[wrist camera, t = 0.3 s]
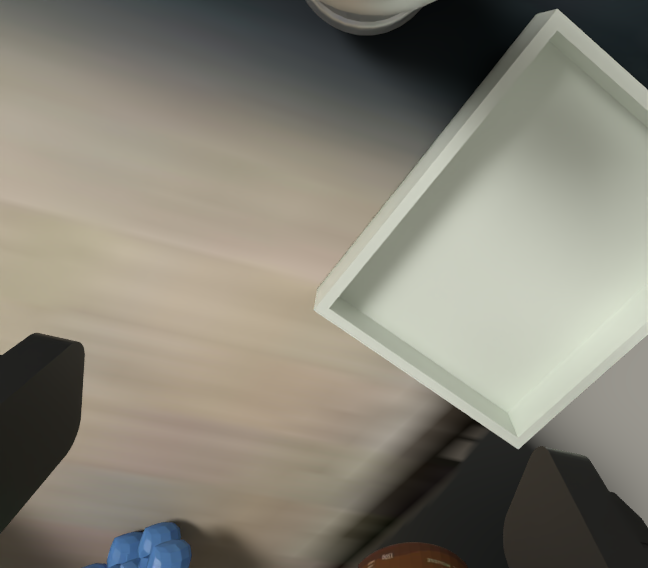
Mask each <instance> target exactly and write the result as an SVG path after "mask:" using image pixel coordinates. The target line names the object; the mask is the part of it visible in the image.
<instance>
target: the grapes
mask: <svg viewBox="0 0 648 568" xmlns="http://www.w3.org/2000/svg"><path fill="white" fill-rule="evenodd" d="M191 556H192V554H191V547H190V545H189V544H188V543H187V542H186V541H185V540H181V534H180V528H179V527H178V526H177V525H176V524H175V523H173V522H162V523H158V524H154V525H151V526H149V527H147V528H145V530H144V532H131V533H127V534H123V535H121V536H118V537H116V538H115V539H114V541H113V543H112V545H111V548H110V551H109V555H108V558H107V565H106V564H102V563H95V564H92V565H88V566H85V567H82V568H189V565H190V561H191Z"/></svg>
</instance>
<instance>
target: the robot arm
mask: <svg viewBox="0 0 648 568" xmlns="http://www.w3.org/2000/svg"><path fill="white" fill-rule="evenodd" d="M84 357H85V353H84V347H83V345H82V344H81V343H80V342H77V341H72V340H68V339H63V338H59V337H54V336H50V335H45V334H41V333H34V334H31V335H30V336H28V337H27V338H25V339H24V340H23V341H21V342H20V343H18V344H17V345H16V346H14V347H13V348H11V349H10V350H9V351H7V352H6V353H4V354H3V355H0V534H1V532H2V531H3V530H4V529H5V528H6V526H7V525H8V524H9V523H10V522H11V520H12V519H13V518H14V517H15V516H16V514H17V513H18V512H19V511H20V510H21V508H22V507H23V506H24V505H25V504H26V502H27V501H28V500H29V499H30V498H31V496H32V495H33V494H34V493H35V492H36V490H37V489H38V488H39V487H40V486H41V484H42V483H43V482H44V481H45V480H46V478H47V477H48V476H49V475H50V474H51V472H52V471H53V470H54V469H55V468H56V466H57V465H58V464H59V463H60V462H61V460H62V459H63V458H64V457H65V456H66V454H67V453H68V451H69V450H70V448H71V446H72V444H73V442H74V440H75V438H76V435H77V432H78V429H79V425H80V420H81V407H82V390H83V374H84ZM503 545H504V552H505V556H506V559H507V562H508V566H509V568H648V528H647V526H646V524H645V523H644V521H643V520H642V518H640V517H639V516H638V515H637V514H636V513H635V512H634V511H633V510H632V509H631V508H630V507H629V506H628V505H627V504H625V502H624V501H622V499H620V498H619V497H618V496H617V495H616V494H615V493H613V492H609V491H608V489H607V488H606V486H605V484H604V482H603V481H602V479H601V478H600V476H599V474H598V473H597V471H596V469H595V468H594V466H593V465H592V463H591V461H590V460H589V459H588V458H587V457H585V456H583V455H579V454H574V453H570V452H565V451H561V450H556V449H551V448H547V447H543V446H540V447H538V448H536V449H535V450H534V452H533V453H532V455H531V457H530V459H529V462H528V464H527V466H526V469H525V471H524V474H523V476H522V478H521V481H520V483H519V486H518V488H517V491H516V493H515V495H514V498H513V500H512V503H511V505H510V508H509V510H508V512H507V515H506V519H505V524H504V530H503Z"/></svg>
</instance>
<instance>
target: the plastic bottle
mask: <svg viewBox="0 0 648 568" xmlns="http://www.w3.org/2000/svg"><path fill="white" fill-rule="evenodd" d="M434 1H436V0H306V2H307V4H308V5H309V6H310V7H311V8H312V10H313V11H314V12H315V13H316V14H317V15H318V16H319V17H320V18H321V19H323V20H324V21H325V22H327V23H328V24H329V25H331V26H333V27H335V28H337V29H339V30H341V31H343V32H347V33H351V34H355V35H377V34H382V33H387V32H389V31H391V30H394V29H396V28H398V27H400V26H402V25H403V24H405V23H406V22H407V21H409V20H410V19H412V18H413V17H414V16H415V15H416V14H417V13H418V11H419V10H420V9H421V8H422V7H423V6H425V5H427V4H429V3H432V2H434Z"/></svg>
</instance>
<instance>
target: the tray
mask: <svg viewBox="0 0 648 568" xmlns="http://www.w3.org/2000/svg"><path fill="white" fill-rule="evenodd" d="M314 311H316V312H317V313H319V314H320V315H321V316H323V317H324V318H326V319H327V320H329V321H330V322H332V323H333V324H335V325H336V326H338V327H339V328H341V329H342V330H344V331H345V332H346V333H348V334H349V335H351V336H352V337H354V338H355V339H357V340H358V341H360V342H361V343H363V344H364V345H366V346H367V347H369V348H370V349H372V350H373V351H374V352H376V353H377V354H379V355H380V356H382V357H383V358H385V359H386V360H388V361H389V362H391V363H392V364H394V365H395V366H397V367H398V368H399V369H401V370H402V371H404V372H405V373H407V374H408V375H410V376H411V377H413V378H414V379H416V380H417V381H419V382H420V383H422V384H423V385H425V386H426V387H427V388H429V389H430V390H432V391H433V392H435V393H436V394H438V395H439V396H441V397H442V398H444V399H445V400H447V401H448V402H450V403H451V404H452V405H454V406H455V407H457V408H458V409H460V410H461V411H463V412H464V413H466V414H467V415H469V416H470V417H472V418H473V419H475V420H476V421H477V422H479V423H480V424H482V425H483V426H485V427H486V428H488V429H489V430H491V431H492V432H494V433H495V434H497V435H498V436H500V437H501V438H503V439H504V440H505V441H507V442H508V443H510V444H511V445H513V446H514V447H516V448H517V449H519V448H520V447H521V446H522V445H523V444H525V443H526V442H527V441H528V440H529V439H530V438H532V437H533V436H534V435H535V434H536V433H537V432H538V431H540V430H541V429H542V428H543V427H544V426H545V425H546V424H547V423H549V422H550V421H551V420H552V419H553V418H554V417H555V416H556V415H557V414H559V413H560V412H561V411H562V410H563V409H564V408H565V407H566V406H568V405H569V404H570V403H571V402H572V401H573V400H575V398H577V397H578V396H579V395H580V394H581V393H582V392H584V391H585V390H586V389H587V388H588V387H589V386H590V385H592V384H593V383H594V382H595V381H596V380H597V379H598V378H599V377H601V376H602V375H603V374H604V373H605V372H606V371H607V370H609V369H610V368H611V367H612V366H613V365H614V364H615V363H616V362H618V361H619V360H620V359H621V358H622V357H623V356H624V355H625V354H627V353H628V352H629V351H630V350H631V349H632V348H633V347H634V346H636V344H638V343H639V342H640V341H641V340H642V339H644V338H645V337H646V336H647V335H648V90H647V89H646V88H645V87H644V86H643V85H642V84H640V83H639V82H638V81H637V80H636V79H635V78H634V77H633V76H632V75H630V74H629V73H628V72H627V71H626V70H625V69H624V68H623V67H622V66H620V65H619V64H618V63H617V62H616V61H615V60H614V59H613V58H612V57H610V56H609V55H608V54H607V53H606V52H605V51H604V50H603V49H602V48H600V47H599V46H598V45H597V44H596V43H595V42H594V41H593V40H592V39H590V38H589V37H588V36H587V35H586V34H585V33H584V32H583V31H582V30H580V29H579V28H578V27H577V26H576V25H575V24H574V23H573V22H572V21H570V20H569V19H568V18H567V17H566V16H565V15H564V14H563V13H562V12H560V11H559V10H558V9H555V10H551V11H547V12H543V13H539V14H536V15H535V16H534V17H533V19H532V20H531V21H530V22H529V24H528V25H527V26H526V27H525V29H524V30H523V31H522V32H521V34H520V35H519V36H518V37H517V39H516V40H515V41H514V42H513V44H512V45H511V46H510V47H509V49H508V50H507V51H506V53H505V54H504V55H503V56H502V58H501V59H500V60H499V61H498V63H497V64H496V65H495V66H494V68H493V69H492V70H491V71H490V73H489V74H488V75H487V76H486V78H485V79H484V80H483V81H482V83H481V84H480V85H479V86H478V88H477V89H476V90H475V91H474V93H473V94H472V95H471V96H470V98H469V99H468V100H467V101H466V103H465V104H464V105H463V106H462V108H461V109H460V110H459V111H458V113H457V114H456V115H455V116H454V118H453V119H452V120H451V122H450V123H449V124H448V125H447V127H446V128H445V129H444V130H443V132H442V133H441V134H440V135H439V137H438V138H437V139H436V140H435V142H434V143H433V144H432V145H431V147H430V148H429V149H428V150H427V152H426V153H425V154H424V155H423V157H422V158H421V159H420V160H419V162H418V163H417V164H416V165H415V167H414V168H413V169H412V170H411V172H410V173H409V174H408V175H407V177H406V178H405V179H404V180H403V182H402V183H401V184H400V186H399V187H398V188H397V189H396V191H395V192H394V193H393V194H392V196H391V197H390V198H389V199H388V201H387V202H386V203H385V204H384V206H383V207H382V208H381V209H380V211H379V212H378V213H377V214H376V216H375V217H374V218H373V219H372V221H371V222H370V223H369V224H368V226H367V227H366V228H365V229H364V231H363V232H362V233H361V234H360V236H359V237H358V238H357V239H356V241H355V242H354V243H353V244H352V246H351V247H350V248H349V249H348V251H347V252H346V253H345V255H344V256H343V257H342V258H341V260H340V261H339V262H338V263H337V265H336V266H335V267H334V268H333V270H332V271H331V272H330V273H329V275H328V276H327V277H326V278H325V280H324V281H323V282H322V283H321V285H320V286H319V287H318V288H317V294H316V299H315V305H314Z"/></svg>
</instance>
